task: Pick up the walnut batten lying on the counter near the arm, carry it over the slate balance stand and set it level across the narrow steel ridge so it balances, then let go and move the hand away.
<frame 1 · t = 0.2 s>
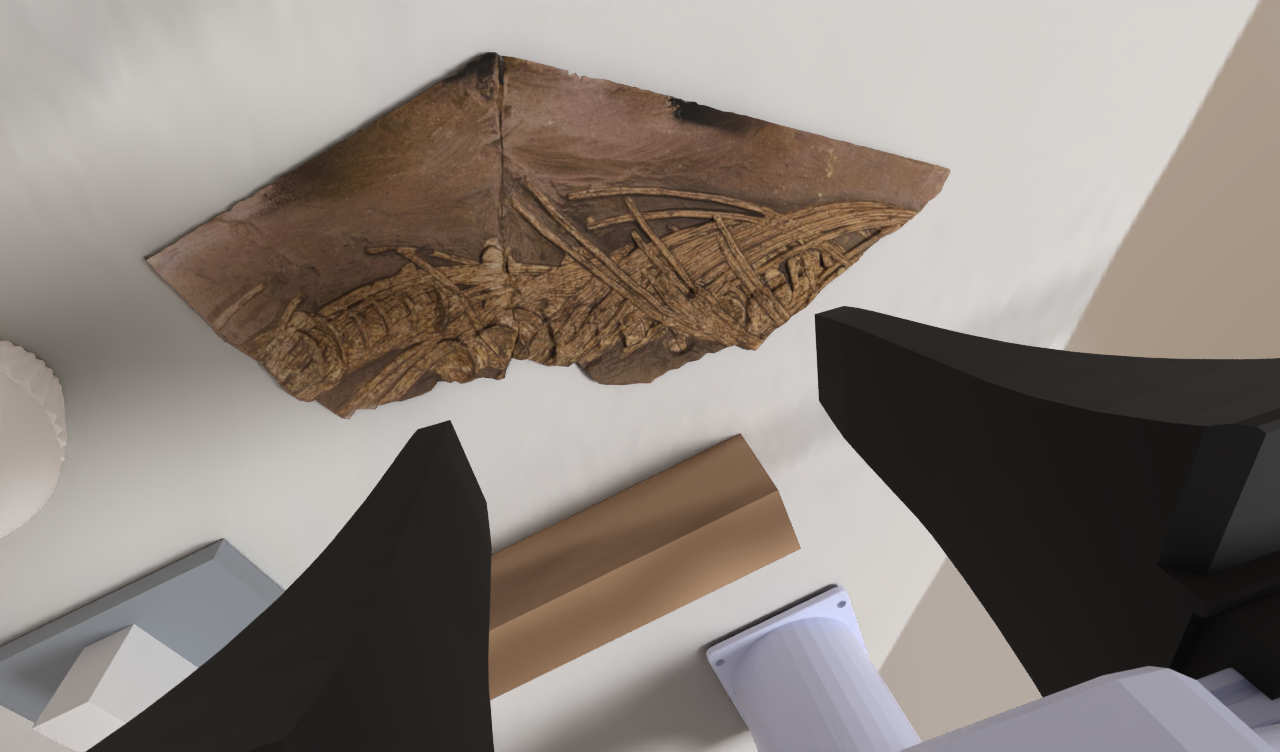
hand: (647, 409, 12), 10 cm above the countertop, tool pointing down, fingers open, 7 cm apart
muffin: (0, 380, 18), on the countertop
walnut batten: (585, 538, 27), on the countertop
balance stand: (300, 735, 28), on the countertop
fossil skeleton slab: (595, 234, 20), on the countertop
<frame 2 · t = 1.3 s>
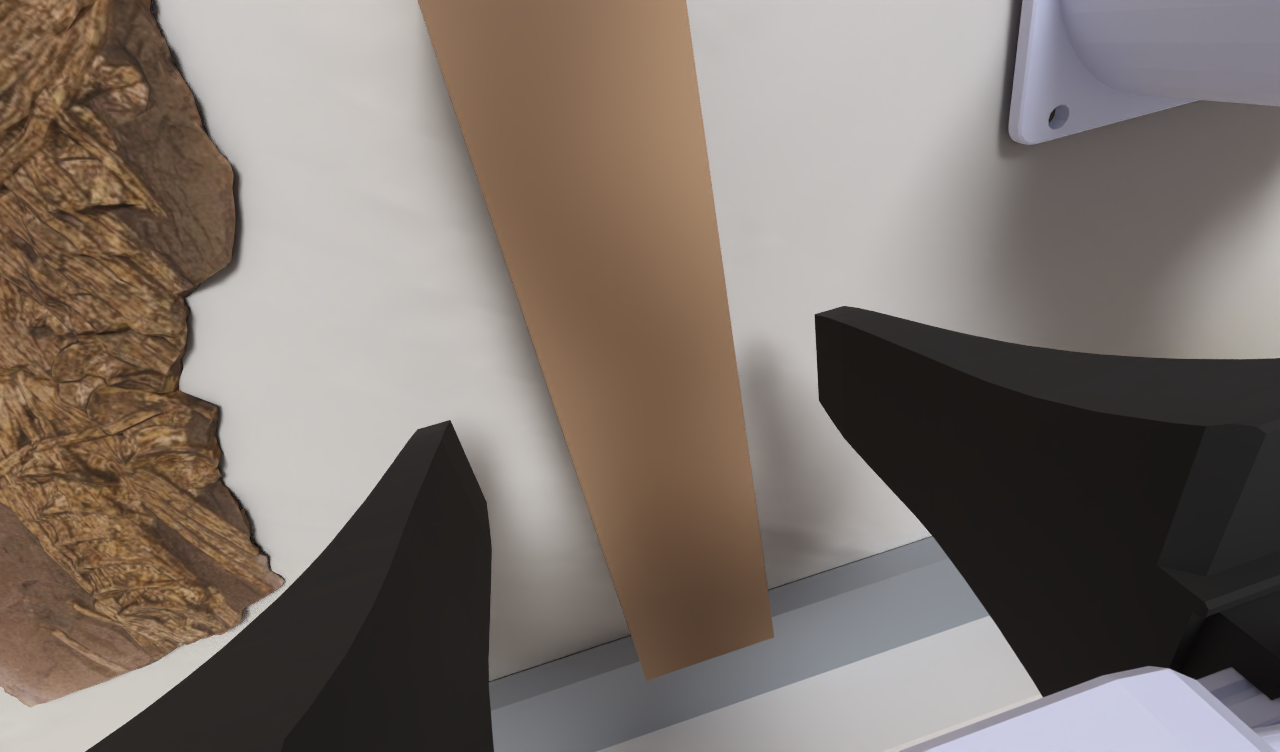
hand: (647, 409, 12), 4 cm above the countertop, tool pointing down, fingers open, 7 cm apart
walnut batten: (614, 325, 15), on the countertop
balance stand: (780, 675, 23), on the countertop
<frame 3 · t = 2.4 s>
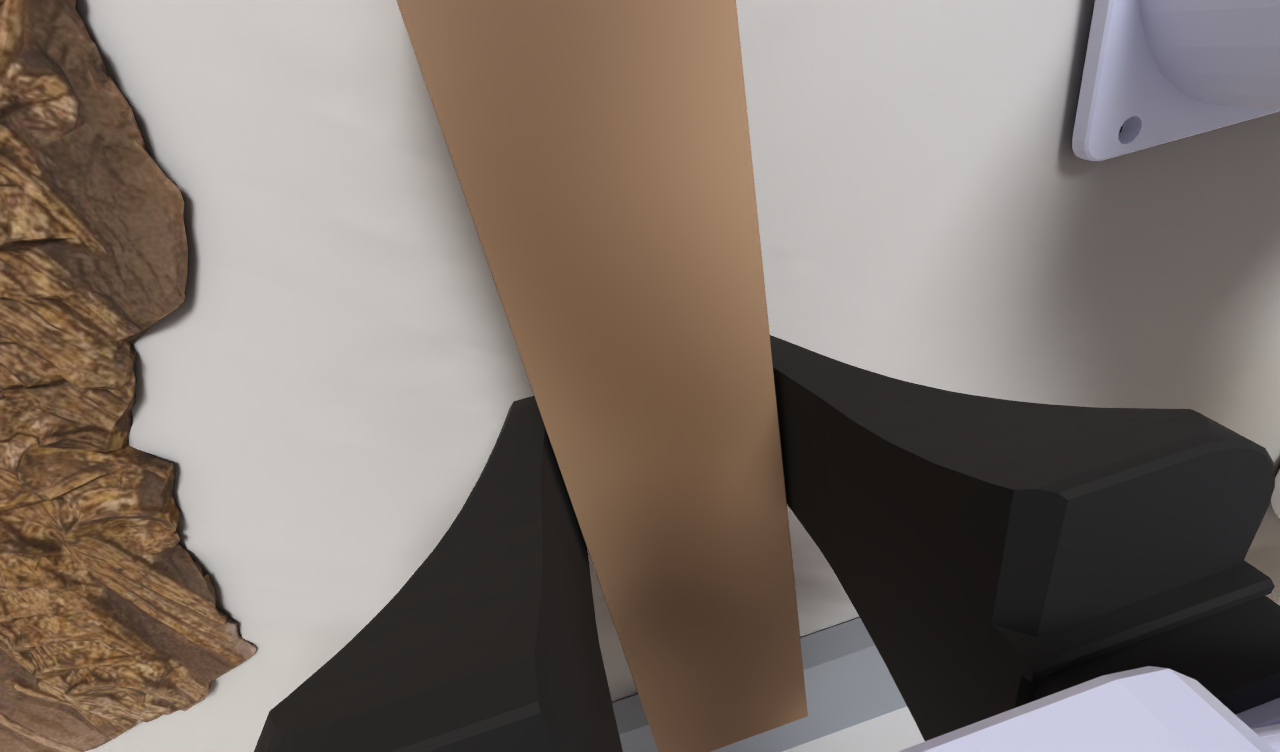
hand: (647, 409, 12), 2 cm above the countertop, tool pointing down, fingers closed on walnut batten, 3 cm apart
walnut batten: (628, 366, 13), on the countertop, touching gripper
balance stand: (801, 727, 21), on the countertop
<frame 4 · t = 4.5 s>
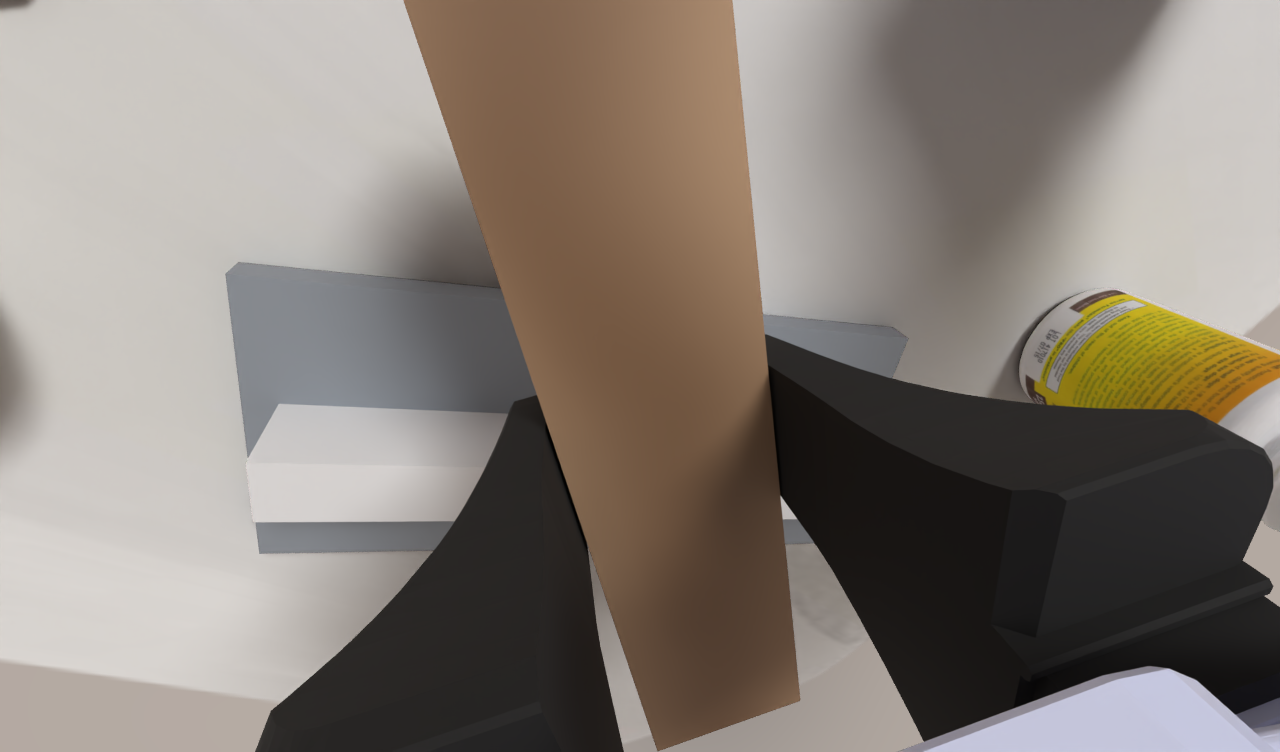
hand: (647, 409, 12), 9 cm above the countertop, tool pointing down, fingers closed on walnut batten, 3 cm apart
supplement bottle: (1066, 342, 26), on the countertop
walnut batten: (624, 353, 13), point 7 cm above the countertop, touching gripper
balance stand: (593, 426, 22), on the countertop
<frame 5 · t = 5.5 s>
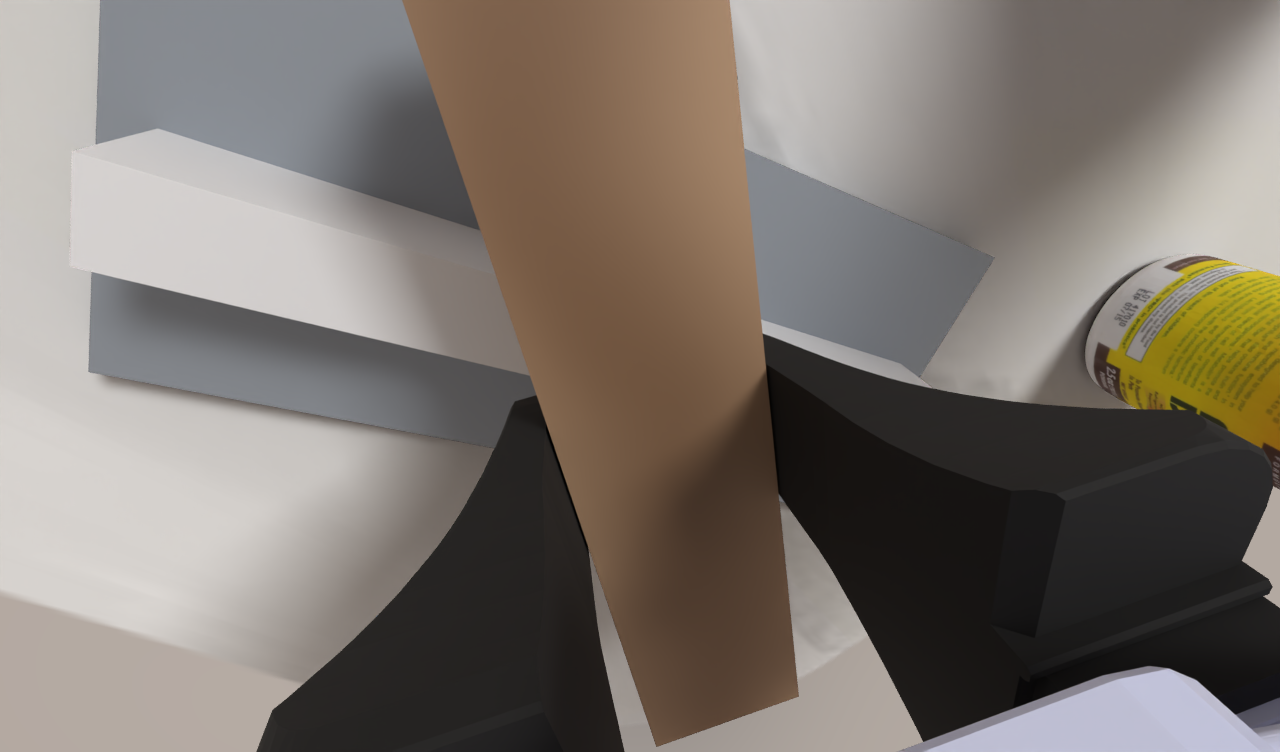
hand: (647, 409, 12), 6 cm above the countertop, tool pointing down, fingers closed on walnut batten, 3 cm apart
supplement bottle: (1137, 319, 23), on the countertop
walnut batten: (622, 349, 13), point 4 cm above the countertop, touching gripper
balance stand: (595, 294, 17), on the countertop
when the fingers open (6 cm above the countertop, at t = 6.2 s): walnut batten stays where it is, resting on balance stand.
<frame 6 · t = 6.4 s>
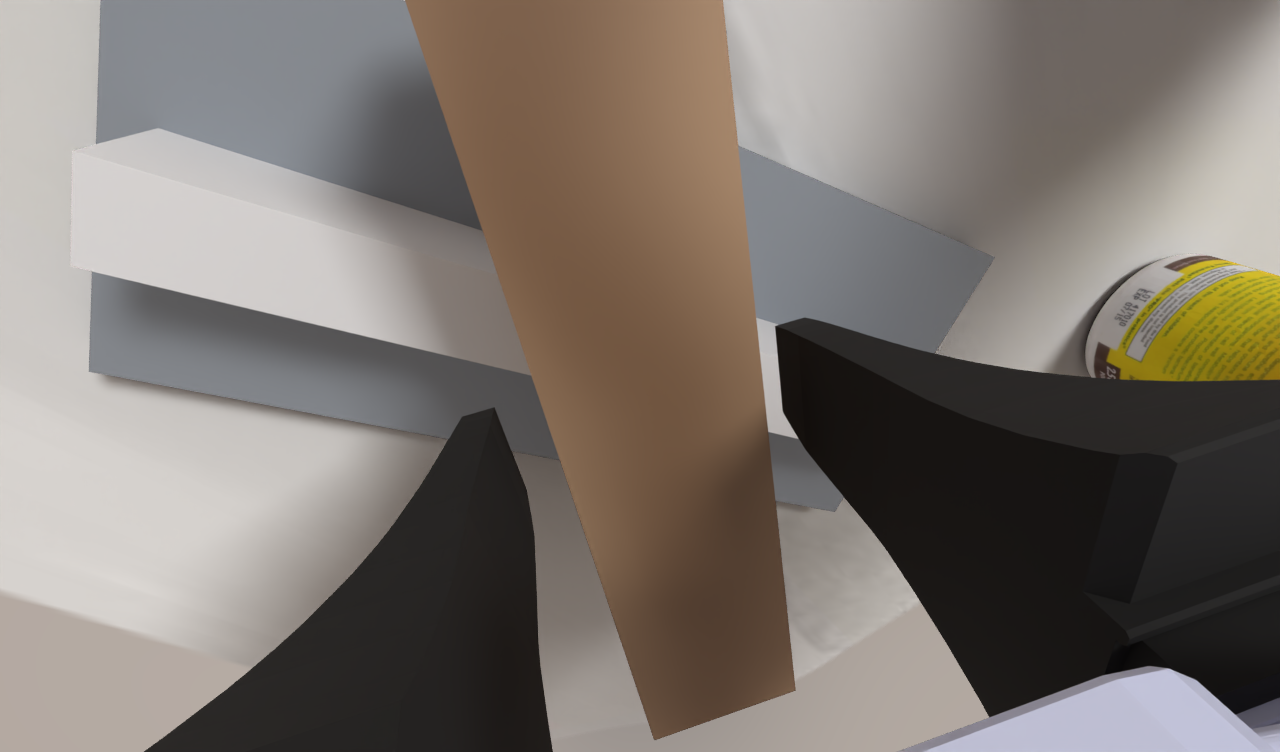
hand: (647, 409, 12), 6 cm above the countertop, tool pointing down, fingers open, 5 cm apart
supplement bottle: (1137, 319, 23), on the countertop
walnut batten: (621, 346, 13), point 4 cm above the countertop, touching balance stand
balance stand: (595, 293, 17), on the countertop
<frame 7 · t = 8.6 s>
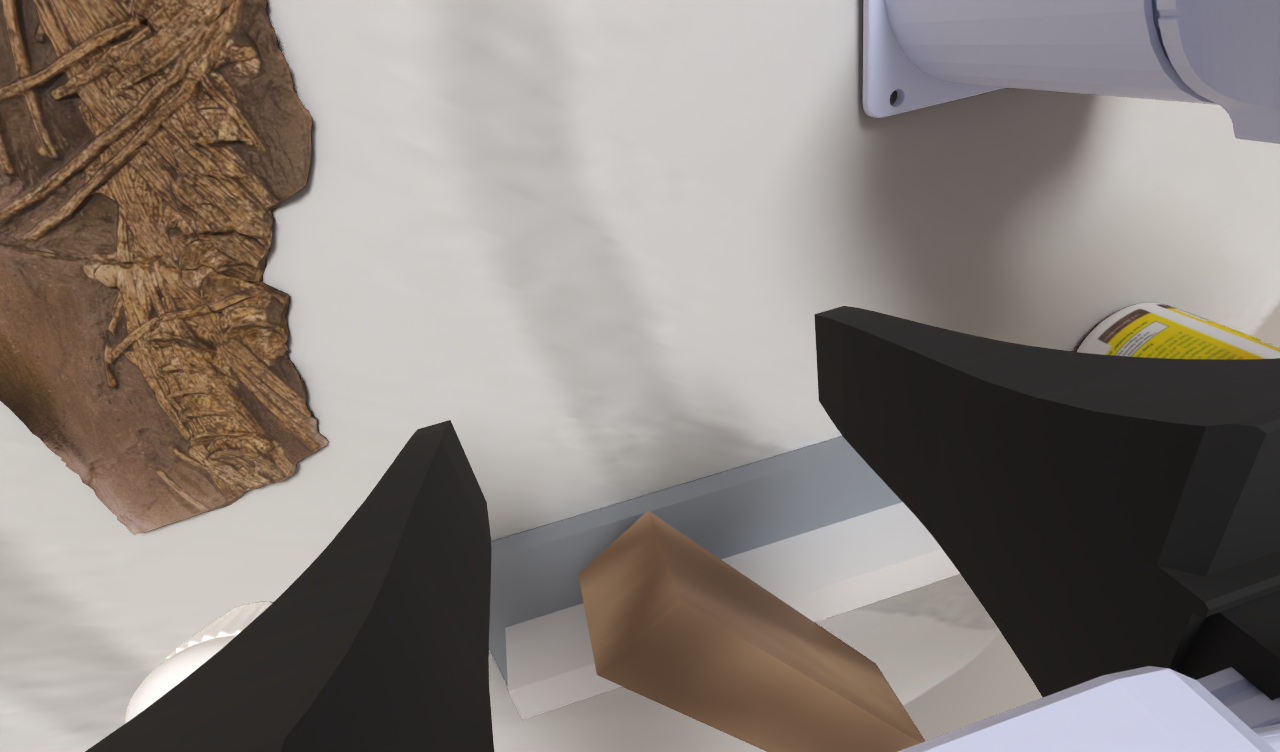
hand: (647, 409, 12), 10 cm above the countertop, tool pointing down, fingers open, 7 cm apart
supplement bottle: (1110, 352, 28), on the countertop
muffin: (265, 625, 25), on the countertop
walnut batten: (748, 625, 25), point 4 cm above the countertop, touching balance stand
balance stand: (719, 557, 28), on the countertop
fossil skeleton slab: (89, 140, 16), on the countertop
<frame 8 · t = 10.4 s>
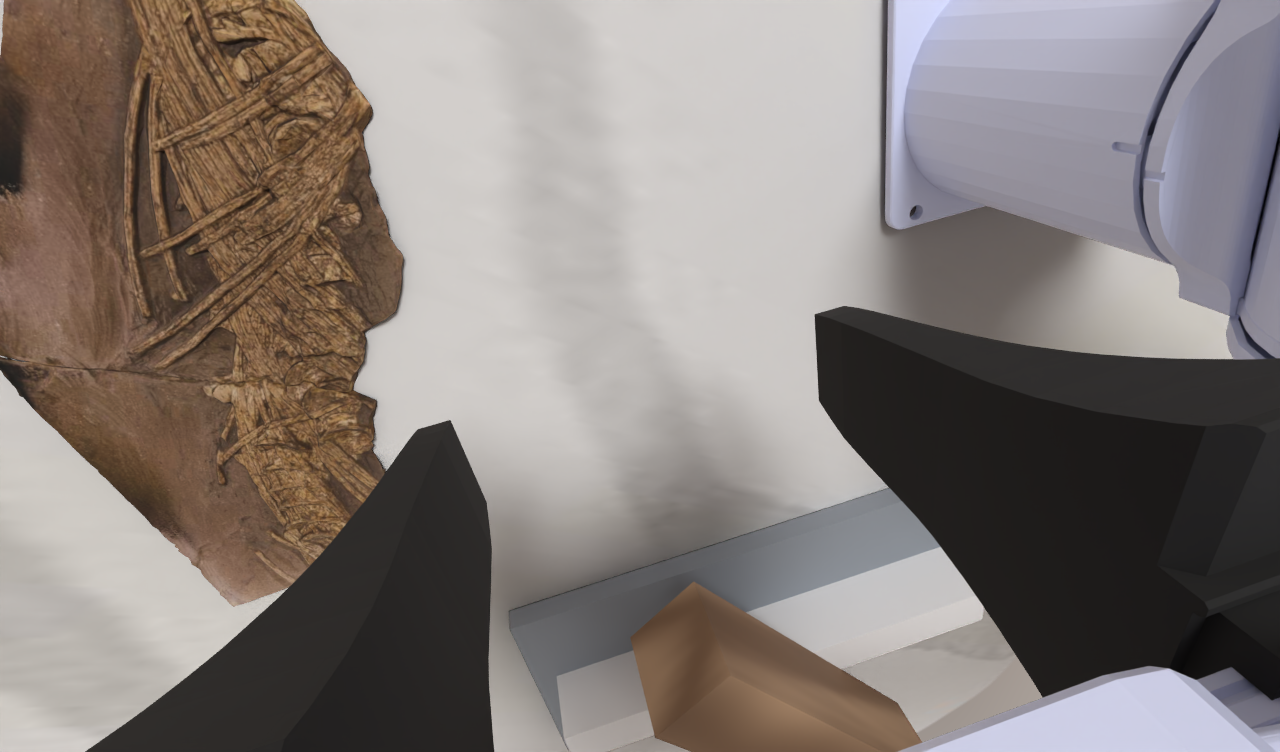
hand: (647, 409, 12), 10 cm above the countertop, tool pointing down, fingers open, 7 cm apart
walnut batten: (780, 674, 27), point 4 cm above the countertop, touching balance stand
balance stand: (750, 605, 31), on the countertop
fossil skeleton slab: (211, 281, 19), on the countertop
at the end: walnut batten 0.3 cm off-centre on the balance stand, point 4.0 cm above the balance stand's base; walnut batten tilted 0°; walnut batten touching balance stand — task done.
